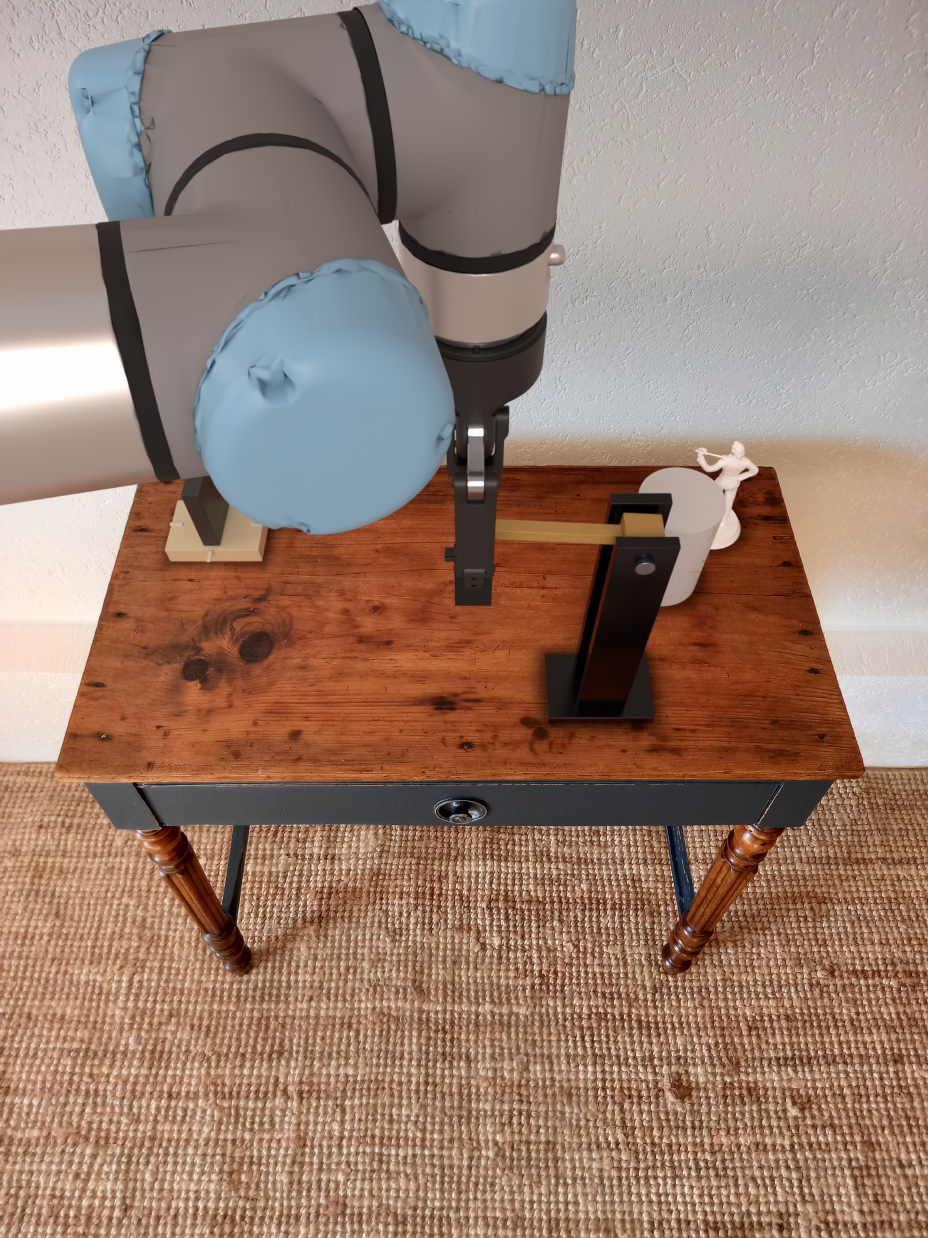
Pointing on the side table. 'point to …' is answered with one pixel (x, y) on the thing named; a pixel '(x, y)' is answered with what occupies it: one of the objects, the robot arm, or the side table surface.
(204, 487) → the thumbturn
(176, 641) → the side table surface
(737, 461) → the figurine
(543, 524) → the latch lever
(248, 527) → the plate
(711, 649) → the side table surface
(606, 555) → the latch bracket
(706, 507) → the light grey cylinder
